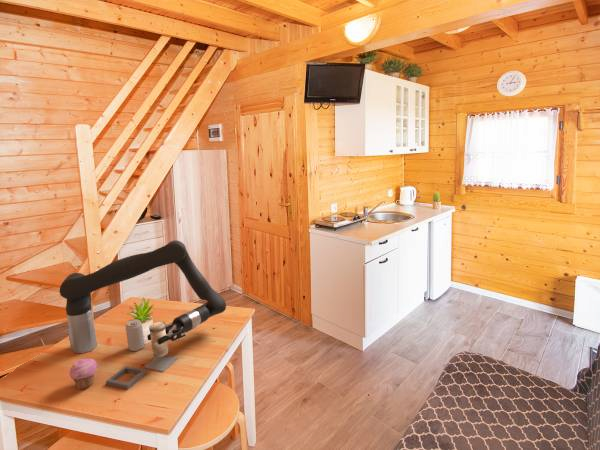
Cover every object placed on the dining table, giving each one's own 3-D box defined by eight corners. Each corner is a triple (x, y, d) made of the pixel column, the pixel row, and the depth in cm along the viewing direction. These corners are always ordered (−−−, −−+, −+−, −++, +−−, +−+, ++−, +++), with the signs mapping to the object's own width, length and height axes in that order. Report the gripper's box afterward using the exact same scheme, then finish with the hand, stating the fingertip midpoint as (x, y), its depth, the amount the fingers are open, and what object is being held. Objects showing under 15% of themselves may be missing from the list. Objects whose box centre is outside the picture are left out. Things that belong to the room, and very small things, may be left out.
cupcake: (75, 380, 137) (70, 356, 135) (101, 375, 140) (97, 351, 138) (70, 395, 129) (65, 370, 127) (97, 389, 132) (93, 364, 130)
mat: (144, 368, 144) (144, 367, 144) (159, 355, 152) (159, 354, 152) (163, 371, 141) (163, 370, 141) (177, 358, 150) (177, 357, 150)
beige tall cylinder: (149, 356, 144) (145, 328, 142) (159, 348, 150) (155, 321, 147) (162, 358, 143) (158, 330, 140) (171, 350, 148) (168, 322, 145)
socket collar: (106, 384, 135) (106, 380, 134) (126, 369, 143) (125, 365, 143) (128, 389, 132) (127, 385, 131) (146, 373, 141) (146, 369, 140)
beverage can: (129, 353, 155) (125, 327, 152) (128, 346, 160) (124, 321, 158) (145, 349, 157) (142, 323, 155) (144, 342, 163) (140, 317, 160)
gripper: (175, 310, 159) (140, 326, 145) (198, 317, 152) (163, 336, 138) (176, 325, 161) (142, 344, 147) (200, 334, 153) (166, 354, 139)
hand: (153, 340), depth 142 cm, fingers closed on beige tall cylinder, 5 cm apart
